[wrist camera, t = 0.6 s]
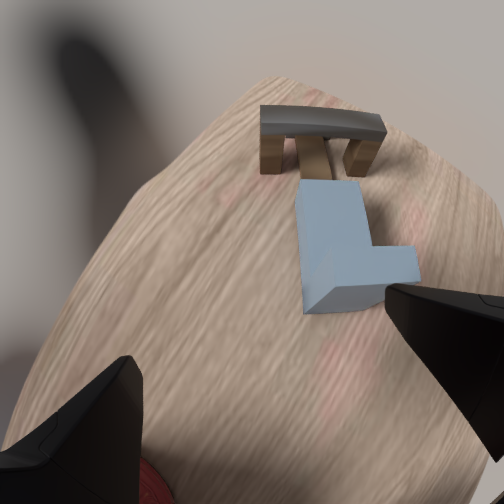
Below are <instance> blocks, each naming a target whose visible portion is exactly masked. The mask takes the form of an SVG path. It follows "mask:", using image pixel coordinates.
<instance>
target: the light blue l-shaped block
mask: <svg viewBox="0 0 504 504" xmlns="http://www.w3.org/2000/svg"><path fill="white" fill-rule="evenodd" d="M295 208H296V218H297V229H298V241H299V253H300V266H301V280H302V296H303V314H321V313H337V312H350V311H363V310H365V309H367V308H369V307H371V306H373V305H375V304H378V303H380V302H382V301H384V300H385V288H386V287H387V286H388V285H391V284H393V283H401V284H408V285H415V284H417V283H419V282H421V276H420V270H419V265H418V259H417V254H416V250H415V246H372V241H371V236H370V231H369V226H368V221H367V216H366V211H365V207H364V202H363V198H362V194H361V189H360V185H359V181H341V180H314V179H300V182H299V187H298V191H297V195H296V199H295Z"/></svg>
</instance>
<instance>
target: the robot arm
mask: <svg viewBox="0 0 504 504" xmlns="http://www.w3.org/2000/svg"><path fill="white" fill-rule="evenodd" d="M385 310H386V313H387V314H388V316H389V317H390V319H391V320H392V322H393V323H394V324H395V326H396V327H397V329H398V330H399V332H400V333H401V335H402V337H403V338H404V339H405V341H406V342H407V343H408V345H409V346H410V347H411V348H412V350H413V351H414V352H415V353H416V354H417V356H418V357H419V358H420V359H421V361H422V362H423V363H424V364H425V366H426V367H427V368H428V369H429V371H430V372H431V373H432V374H433V376H434V377H435V378H436V379H437V381H438V382H439V383H440V385H441V386H442V387H443V389H444V390H445V391H446V392H447V394H448V395H449V396H450V398H451V399H452V400H453V402H454V403H455V404H456V406H457V407H458V409H459V410H460V411H461V413H462V414H463V415H464V417H465V418H466V420H467V421H468V422H469V424H470V425H471V427H472V428H473V430H474V431H475V433H476V434H477V436H478V437H479V438H480V440H481V441H482V443H483V444H484V446H485V447H486V449H487V450H488V452H489V454H490V455H491V457H492V458H493V460H494V461H495V462H496V463H497V462H498V461H499V460H500V459H501V458H502V457H503V456H504V297H501V296H491V295H482V294H478V295H477V294H474V293H467V292H459V291H452V290H444V289H437V288H430V287H422V286H415V285H408V284H401V283H393V284H391V285H388V286H387V287H386V288H385ZM142 426H143V376H142V373H141V371H140V369H139V368H138V366H137V364H136V362H135V360H134V359H133V357H132V356H130V355H127V356H121V357H119V358H118V359H117V360H115V361H114V362H113V363H112V364H111V365H110V366H108V367H107V368H106V369H105V370H104V371H103V372H101V373H100V374H99V375H98V376H97V377H96V378H94V379H93V380H92V381H91V382H90V383H89V384H87V385H86V386H85V387H84V388H83V389H82V390H80V391H79V392H78V393H77V394H76V395H75V396H74V397H72V398H71V399H70V400H69V401H68V402H67V403H65V404H64V405H63V406H62V407H61V408H60V409H59V410H58V412H55V413H54V414H53V415H52V416H50V417H49V418H48V419H47V420H46V421H44V422H43V423H42V424H41V425H40V426H38V427H37V428H36V429H34V430H33V431H32V432H30V433H29V434H28V435H26V436H25V437H24V438H22V439H21V440H20V441H18V442H17V443H15V444H14V445H13V446H11V447H10V448H8V449H7V450H5V451H2V452H0V504H139V488H140V456H141V440H142ZM490 504H504V491H503V492H502V493H501V494H500V495H499V496H498V497H497V498H496V499H495V500H494V501H493V502H492V503H490Z"/></svg>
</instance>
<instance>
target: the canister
mask: <svg viewBox="0 0 504 504" xmlns="http://www.w3.org/2000/svg"><path fill="white" fill-rule="evenodd" d="M139 504H175V503H174V499H173V496H172V494H171V492H170V490H169V488H168V486H167V485H166V483H165V481H164V480H163V479H162V477H161V476H160V475H159V474H158V473H157V471H156V470H155V469H154V468H153V467H152V466H151V465H150V464H149V463H148V462H146V461H145V460H144V459H143V458H142V457H140V488H139Z"/></svg>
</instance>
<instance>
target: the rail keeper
mask: <svg viewBox="0 0 504 504" xmlns="http://www.w3.org/2000/svg"><path fill="white" fill-rule="evenodd" d="M386 134H387V130H386V128H385V125H384V123H383V121H382V119H381V117H380V115H379V114H373V113H366V112H359V111H352V110H343V109H333V108H322V107H308V106H286V105H260V155H259V157H260V174H280V173H281V165H282V156H283V148H284V140H285V135H286V138H295V143H296V149H297V156H298V163H299V170H300V177H301V179H314V180H332V175H331V171H330V166H329V161H328V157H327V152H326V148H325V144H324V140H329V139H330V137H335V138H347V139H350V141H349V143H348V146H347V149H346V151H345V154H344V156H343V162H344V166H345V170H346V174H347V176H352V177H365V175H366V173H367V171H368V169H369V167H370V166H371V164H372V162H373V160H374V158H375V156H376V154H377V152H378V150H379V148H380V146H381V144H382V142H383V140H384V138H385V136H386ZM323 139H324V140H323Z"/></svg>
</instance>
